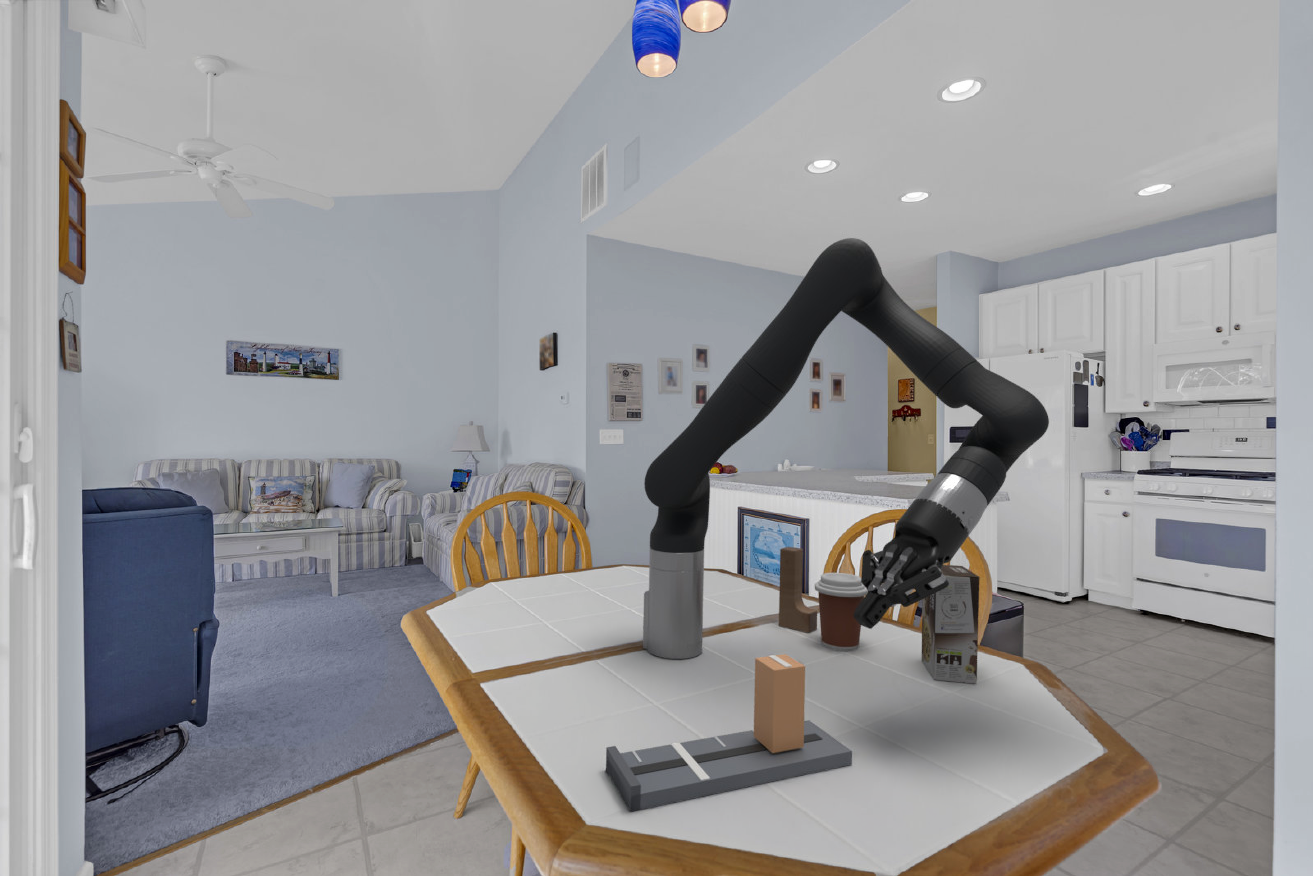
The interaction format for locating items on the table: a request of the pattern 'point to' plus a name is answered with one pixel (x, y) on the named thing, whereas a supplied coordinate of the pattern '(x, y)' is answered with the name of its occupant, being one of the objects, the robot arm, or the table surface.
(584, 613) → the table surface
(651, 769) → the fader rail
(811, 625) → the wooden block
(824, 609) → the coffee cup
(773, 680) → the fader tab
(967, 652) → the coffee box
